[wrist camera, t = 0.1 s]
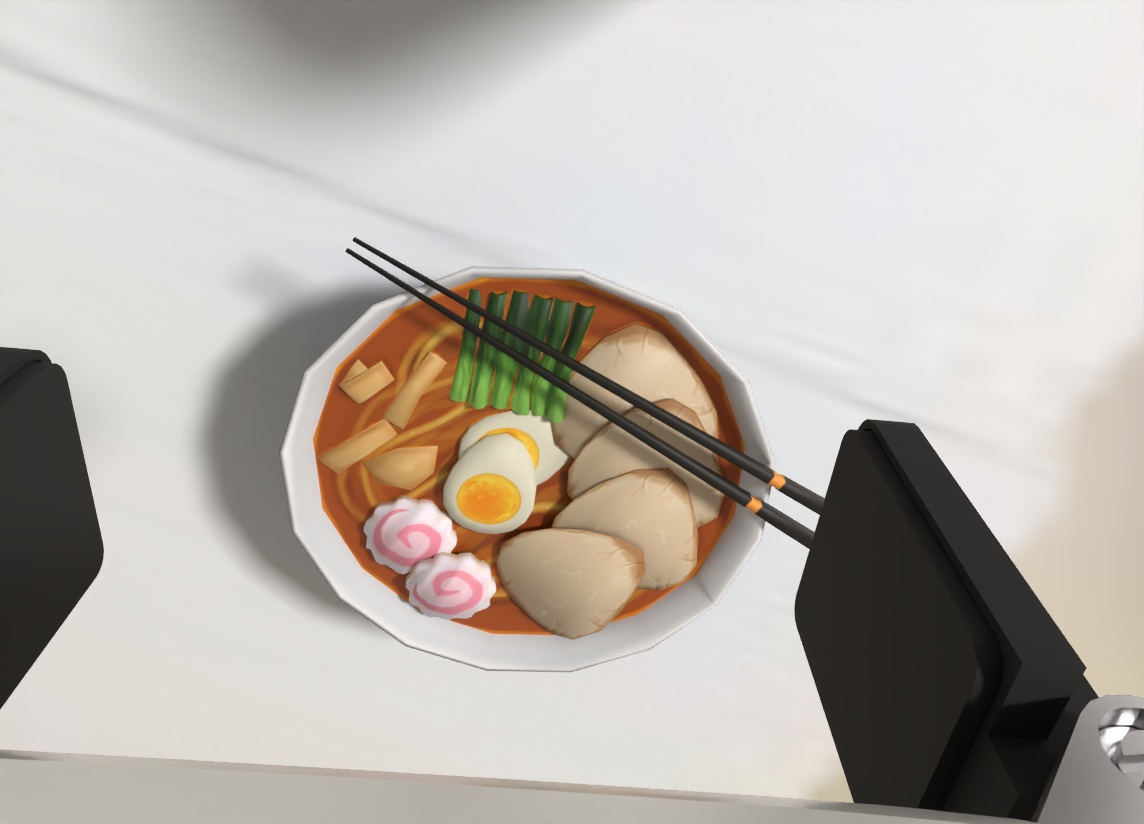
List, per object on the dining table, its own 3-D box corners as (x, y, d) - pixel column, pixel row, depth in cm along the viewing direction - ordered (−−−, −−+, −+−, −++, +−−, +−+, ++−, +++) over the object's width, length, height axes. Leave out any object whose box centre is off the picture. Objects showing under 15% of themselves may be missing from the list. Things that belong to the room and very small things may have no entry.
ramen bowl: (229, 453, 47) (169, 547, 40) (443, 95, 38) (414, 134, 31) (596, 644, 54) (601, 753, 47) (852, 382, 45) (904, 468, 38)
